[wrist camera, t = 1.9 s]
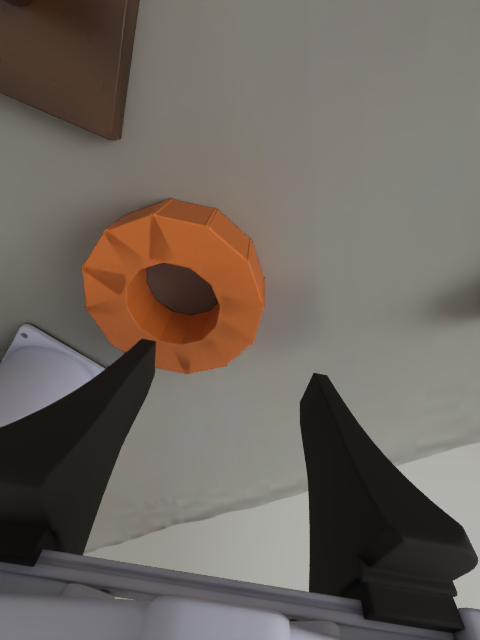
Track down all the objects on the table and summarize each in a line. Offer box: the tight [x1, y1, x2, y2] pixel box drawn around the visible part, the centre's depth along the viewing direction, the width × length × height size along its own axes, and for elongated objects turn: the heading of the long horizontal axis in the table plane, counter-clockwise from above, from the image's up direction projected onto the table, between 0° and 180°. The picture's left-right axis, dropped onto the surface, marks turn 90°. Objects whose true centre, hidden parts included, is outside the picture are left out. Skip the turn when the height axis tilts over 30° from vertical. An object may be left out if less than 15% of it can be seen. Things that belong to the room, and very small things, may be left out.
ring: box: [81, 198, 265, 374], centre depth 18 cm, size 10×10×3 cm
